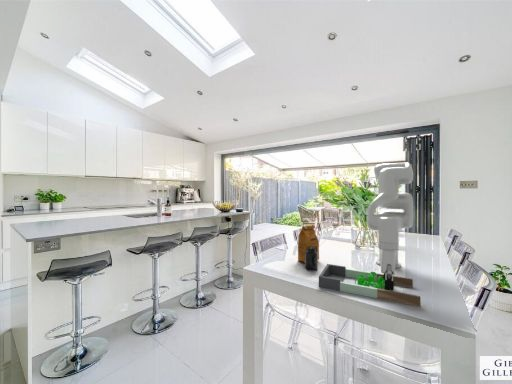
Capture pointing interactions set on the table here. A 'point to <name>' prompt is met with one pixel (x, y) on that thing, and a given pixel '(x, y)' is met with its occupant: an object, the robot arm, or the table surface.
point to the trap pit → (332, 277)
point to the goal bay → (358, 288)
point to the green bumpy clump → (371, 281)
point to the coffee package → (307, 241)
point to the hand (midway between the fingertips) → (388, 285)
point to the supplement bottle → (311, 258)
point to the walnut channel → (399, 296)
